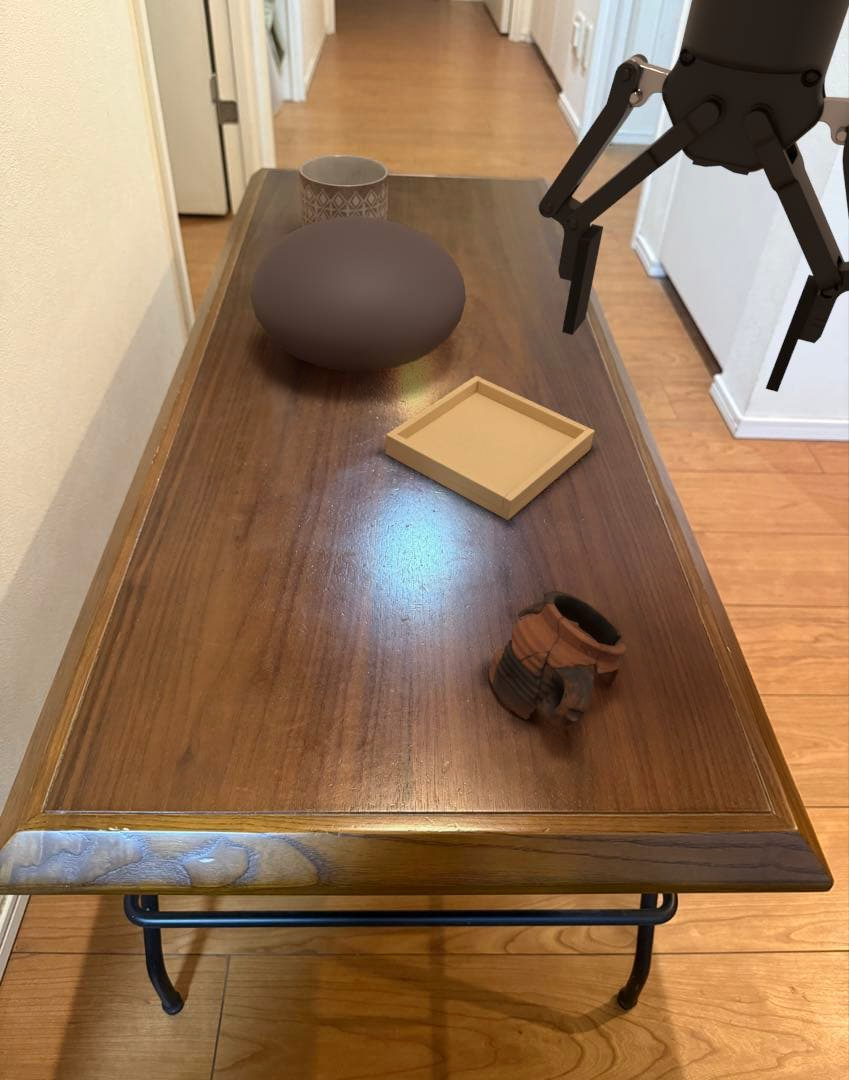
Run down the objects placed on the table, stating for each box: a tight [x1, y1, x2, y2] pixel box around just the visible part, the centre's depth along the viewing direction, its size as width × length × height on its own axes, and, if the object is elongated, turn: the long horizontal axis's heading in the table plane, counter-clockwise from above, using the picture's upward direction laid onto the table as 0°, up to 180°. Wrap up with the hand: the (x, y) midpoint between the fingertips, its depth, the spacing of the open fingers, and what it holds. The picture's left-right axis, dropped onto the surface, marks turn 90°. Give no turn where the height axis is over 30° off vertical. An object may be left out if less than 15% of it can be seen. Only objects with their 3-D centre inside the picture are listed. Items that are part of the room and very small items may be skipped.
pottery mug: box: [488, 590, 627, 729], centre depth 64 cm, size 12×10×8 cm
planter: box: [298, 153, 390, 227], centre depth 122 cm, size 13×13×10 cm
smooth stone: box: [249, 216, 467, 373], centre depth 97 cm, size 25×25×15 cm
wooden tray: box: [385, 375, 595, 521], centre depth 87 cm, size 16×16×2 cm
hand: (670, 352), depth 55 cm, fingers open, 13 cm apart
